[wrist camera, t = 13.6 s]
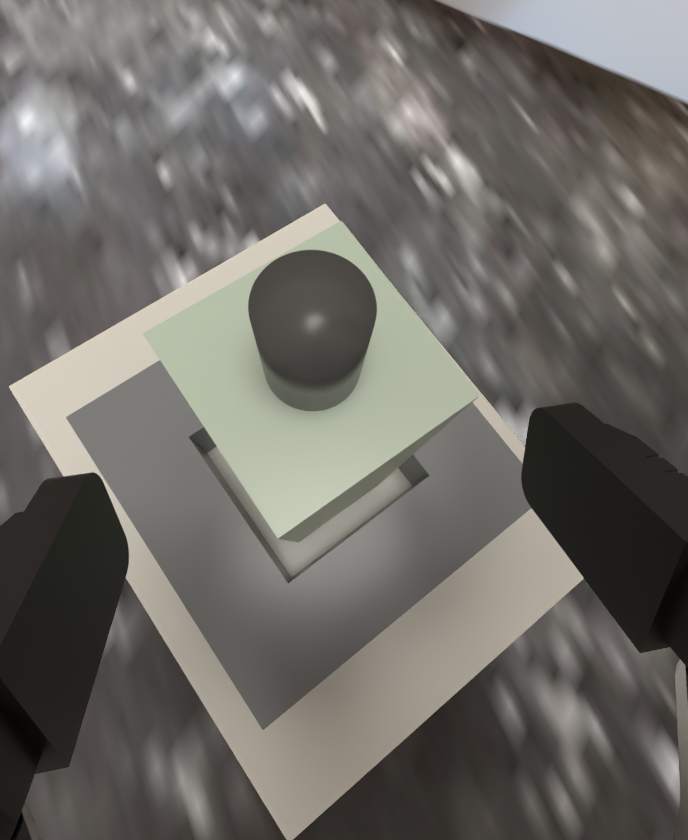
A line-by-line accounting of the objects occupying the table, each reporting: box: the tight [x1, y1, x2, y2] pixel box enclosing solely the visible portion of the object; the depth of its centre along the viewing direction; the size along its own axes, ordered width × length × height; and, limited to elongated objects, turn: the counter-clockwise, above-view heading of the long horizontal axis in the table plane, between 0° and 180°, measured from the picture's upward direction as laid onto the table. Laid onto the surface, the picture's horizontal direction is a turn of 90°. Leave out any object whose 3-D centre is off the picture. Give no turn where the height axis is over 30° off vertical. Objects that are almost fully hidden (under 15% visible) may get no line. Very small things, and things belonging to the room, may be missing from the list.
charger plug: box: [142, 221, 480, 542], centre depth 13 cm, size 4×4×14 cm
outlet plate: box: [9, 204, 584, 840], centre depth 18 cm, size 20×16×4 cm
